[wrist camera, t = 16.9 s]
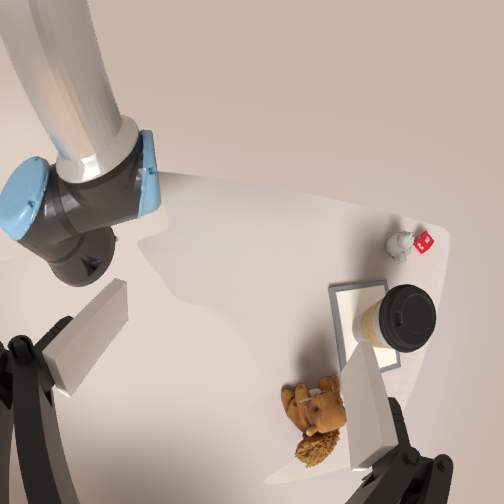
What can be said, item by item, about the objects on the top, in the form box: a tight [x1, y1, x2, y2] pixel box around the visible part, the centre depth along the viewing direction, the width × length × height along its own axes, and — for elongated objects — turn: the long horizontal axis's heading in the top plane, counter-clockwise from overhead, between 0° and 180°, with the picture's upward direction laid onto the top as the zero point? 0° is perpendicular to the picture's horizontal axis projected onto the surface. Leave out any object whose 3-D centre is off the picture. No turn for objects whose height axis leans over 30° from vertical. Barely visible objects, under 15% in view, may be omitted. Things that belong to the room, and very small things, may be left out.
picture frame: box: [328, 280, 401, 373], centre depth 46 cm, size 17×12×1 cm
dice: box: [413, 231, 434, 254], centre depth 52 cm, size 3×3×3 cm
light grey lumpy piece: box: [386, 231, 414, 264], centre depth 48 cm, size 5×7×8 cm
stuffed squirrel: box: [281, 375, 347, 468], centre depth 34 cm, size 10×14×13 cm
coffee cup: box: [352, 284, 436, 353], centre depth 38 cm, size 9×9×15 cm
